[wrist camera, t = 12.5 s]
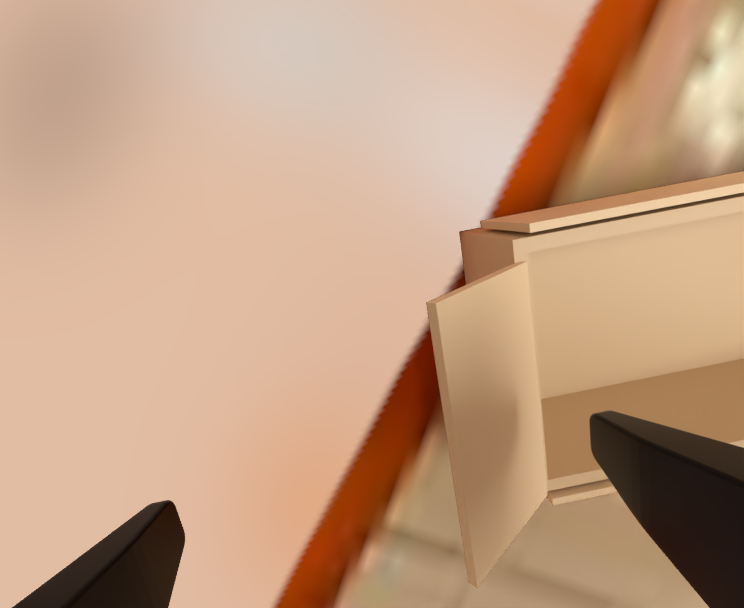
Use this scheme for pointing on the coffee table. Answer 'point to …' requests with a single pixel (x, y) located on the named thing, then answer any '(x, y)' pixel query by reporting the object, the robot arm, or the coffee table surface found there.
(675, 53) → the coffee table surface
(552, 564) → the coffee table surface
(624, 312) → the carton
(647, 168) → the coffee table surface
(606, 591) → the coffee table surface
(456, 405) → the outer flap
